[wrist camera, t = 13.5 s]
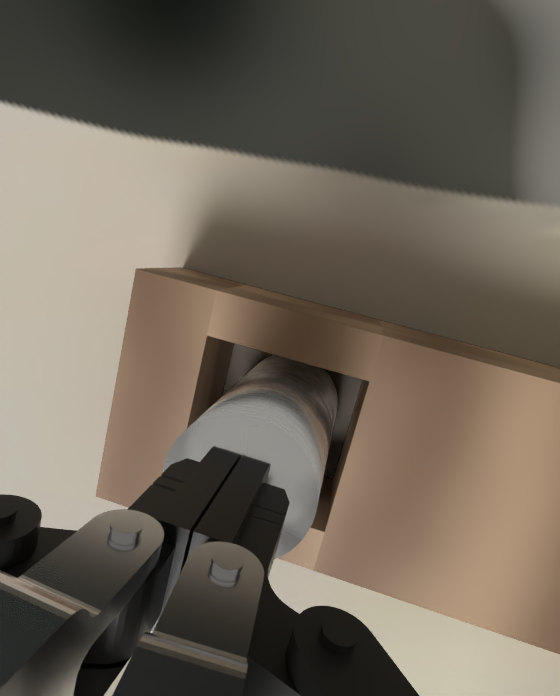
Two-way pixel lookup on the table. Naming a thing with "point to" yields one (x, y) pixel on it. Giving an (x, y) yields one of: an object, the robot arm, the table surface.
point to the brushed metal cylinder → (273, 433)
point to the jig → (369, 445)
